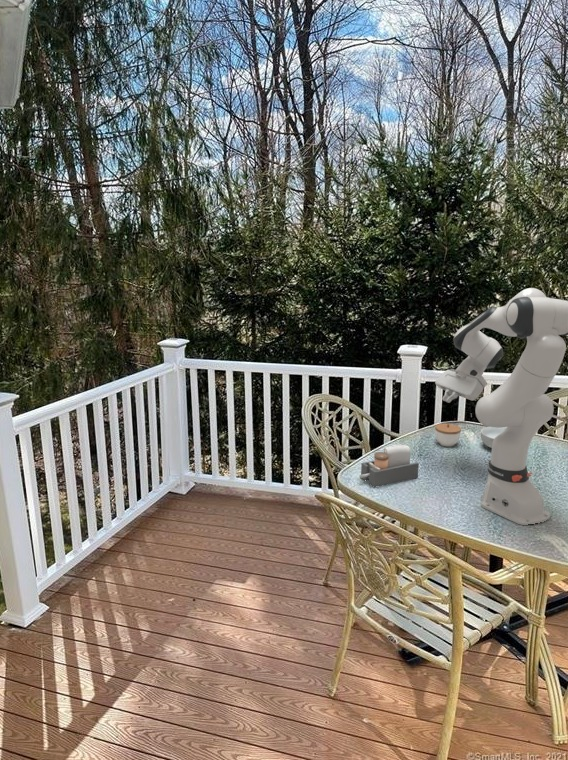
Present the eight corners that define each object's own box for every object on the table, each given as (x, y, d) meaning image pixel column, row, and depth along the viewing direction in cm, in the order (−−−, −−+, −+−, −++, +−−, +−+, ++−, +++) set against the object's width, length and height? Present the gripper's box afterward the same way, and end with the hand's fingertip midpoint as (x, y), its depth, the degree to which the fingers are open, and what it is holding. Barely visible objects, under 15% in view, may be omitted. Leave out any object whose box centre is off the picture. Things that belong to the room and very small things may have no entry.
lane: (417, 477, 202) (418, 463, 201) (374, 487, 195) (374, 472, 193) (403, 468, 210) (404, 454, 209) (360, 477, 202) (361, 463, 201)
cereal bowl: (471, 444, 235) (472, 429, 233) (499, 438, 241) (500, 423, 240) (501, 458, 220) (502, 442, 218) (530, 451, 227) (532, 436, 225)
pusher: (379, 483, 197) (380, 468, 195) (364, 487, 194) (365, 472, 193) (370, 476, 203) (370, 462, 201) (355, 480, 200) (356, 465, 198)
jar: (390, 480, 200) (391, 455, 197) (379, 483, 198) (379, 458, 195) (382, 475, 204) (382, 451, 202) (370, 478, 202) (371, 453, 199)
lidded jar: (434, 447, 231) (435, 427, 229) (433, 438, 241) (435, 419, 239) (460, 449, 229) (462, 429, 226) (458, 440, 239) (460, 420, 236)
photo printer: (385, 479, 201) (386, 448, 198) (381, 474, 205) (382, 444, 202) (410, 476, 203) (412, 446, 200) (406, 471, 207) (408, 442, 204)
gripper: (445, 362, 214) (423, 389, 212) (482, 374, 196) (459, 403, 194) (453, 372, 217) (432, 398, 215) (490, 385, 199) (468, 413, 197)
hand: (445, 401), depth 205 cm, fingers closed
